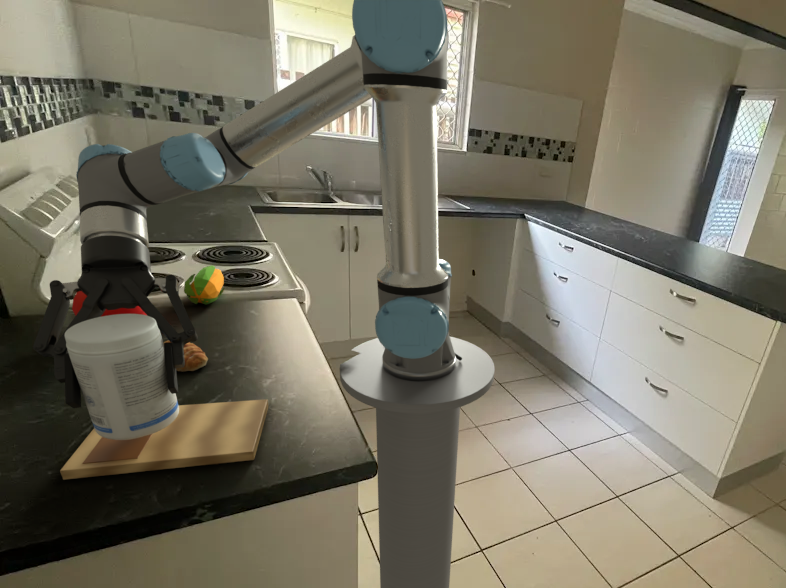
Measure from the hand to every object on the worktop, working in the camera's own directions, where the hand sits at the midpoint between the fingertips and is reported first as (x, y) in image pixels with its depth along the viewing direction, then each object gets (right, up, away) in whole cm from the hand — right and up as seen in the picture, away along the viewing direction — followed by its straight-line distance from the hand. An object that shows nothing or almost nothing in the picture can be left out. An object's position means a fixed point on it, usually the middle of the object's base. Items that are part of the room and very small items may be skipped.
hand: (125, 397), depth 61 cm
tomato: (-32, +9, +37) cm, 50 cm away
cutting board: (+1, -7, +8) cm, 11 cm away
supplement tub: (-2, -4, +5) cm, 7 cm away
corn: (-26, +18, +59) cm, 67 cm away
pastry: (-12, +3, +28) cm, 31 cm away
